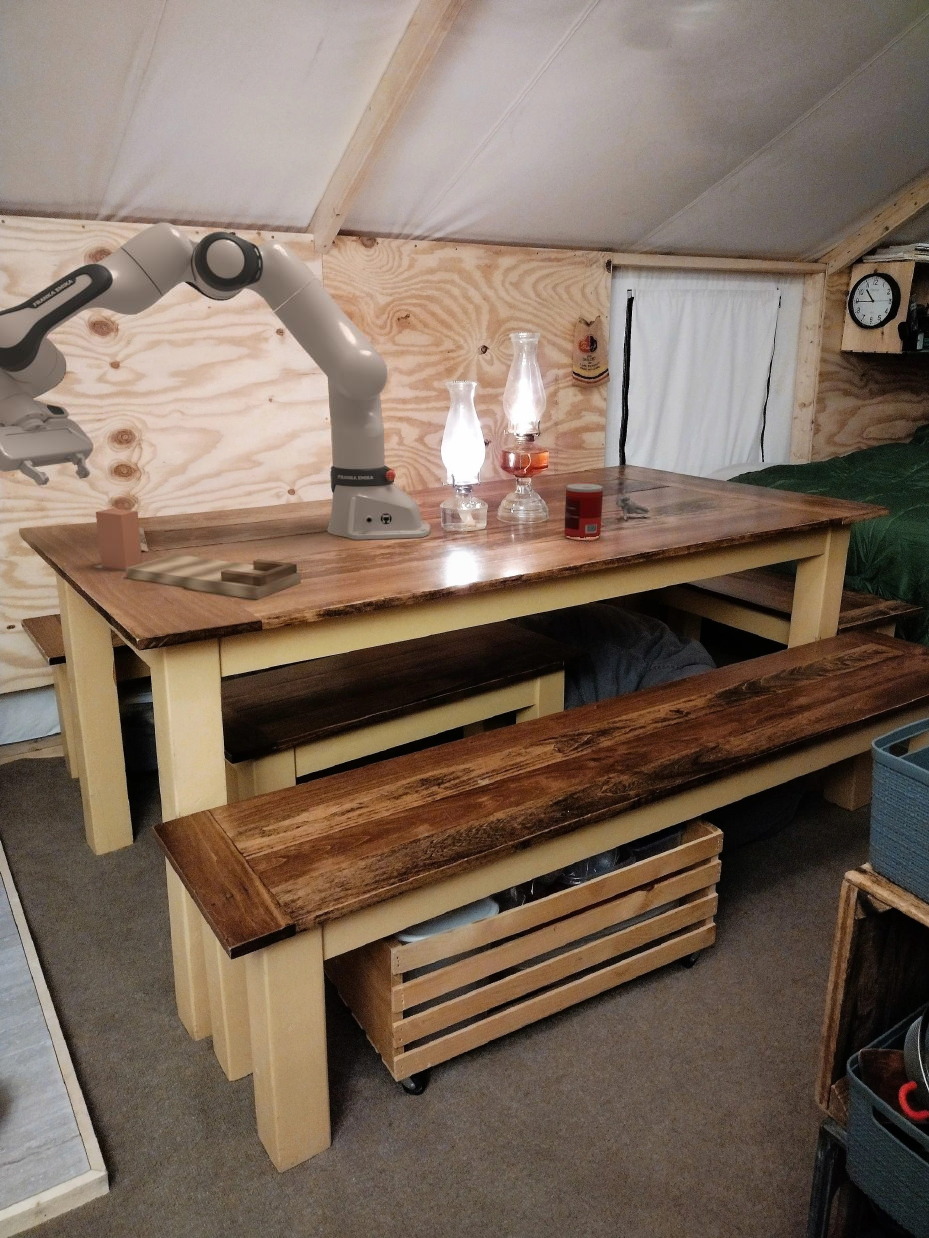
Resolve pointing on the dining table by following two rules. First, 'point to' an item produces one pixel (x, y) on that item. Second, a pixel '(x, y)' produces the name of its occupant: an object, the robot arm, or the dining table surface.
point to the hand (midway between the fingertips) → (65, 479)
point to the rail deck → (219, 575)
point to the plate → (110, 568)
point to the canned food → (583, 510)
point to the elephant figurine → (630, 505)
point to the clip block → (119, 538)
